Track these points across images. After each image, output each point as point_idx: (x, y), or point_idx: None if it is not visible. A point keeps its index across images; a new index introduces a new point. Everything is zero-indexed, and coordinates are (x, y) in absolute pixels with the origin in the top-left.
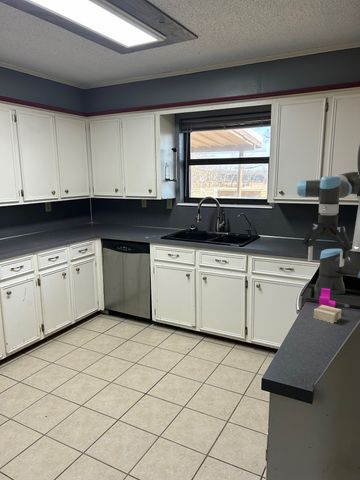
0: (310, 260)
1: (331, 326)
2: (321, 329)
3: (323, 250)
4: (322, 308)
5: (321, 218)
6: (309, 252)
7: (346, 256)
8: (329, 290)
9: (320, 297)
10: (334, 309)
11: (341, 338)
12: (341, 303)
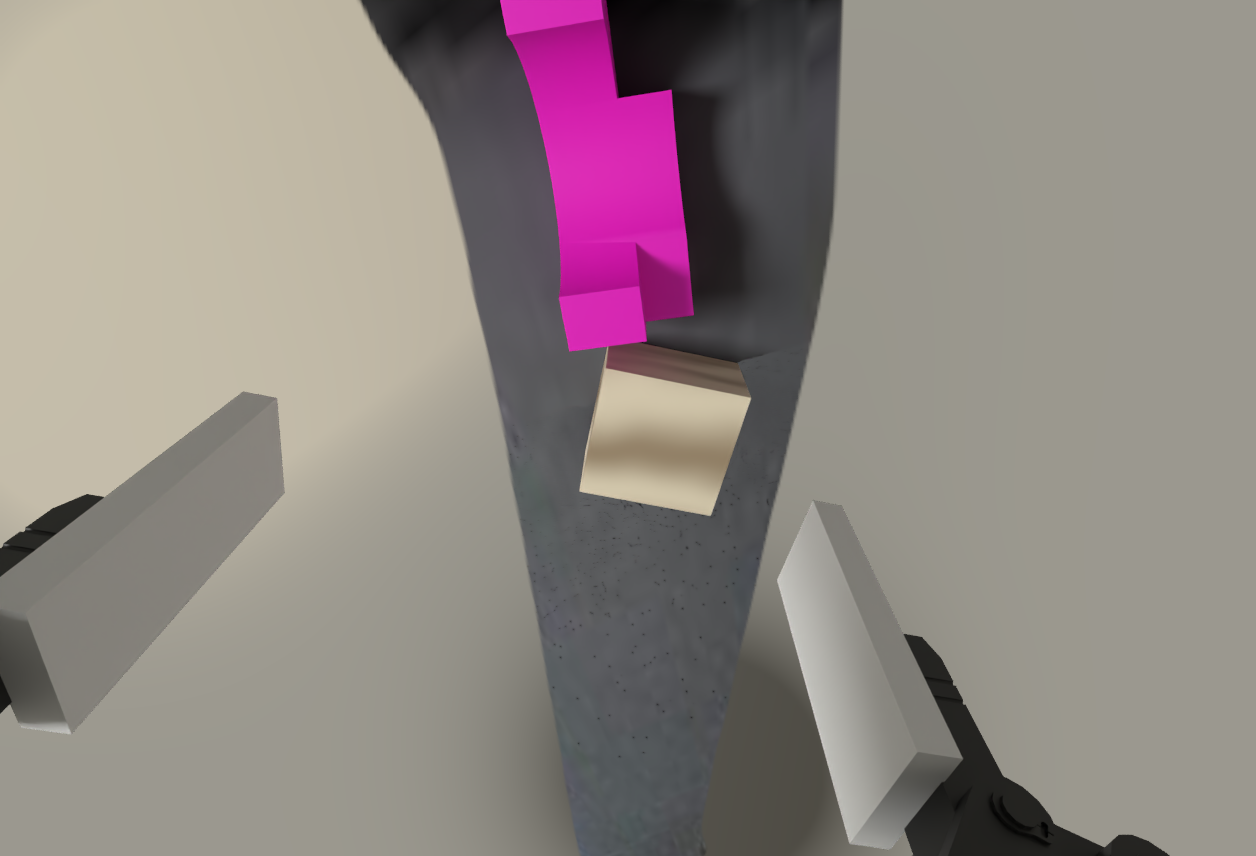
0: (276, 466)
1: None
2: (653, 529)
3: None
4: (624, 443)
5: None
6: (166, 610)
7: (940, 688)
8: (596, 20)
9: (573, 337)
10: (704, 421)
11: (757, 576)
12: None
